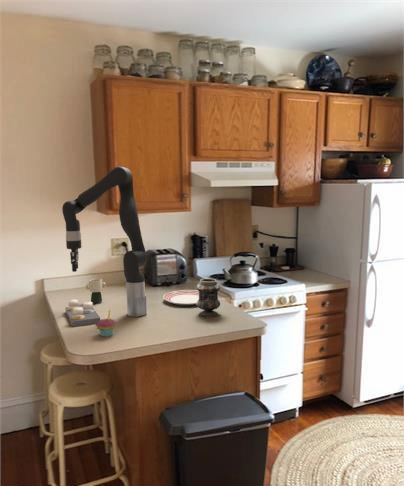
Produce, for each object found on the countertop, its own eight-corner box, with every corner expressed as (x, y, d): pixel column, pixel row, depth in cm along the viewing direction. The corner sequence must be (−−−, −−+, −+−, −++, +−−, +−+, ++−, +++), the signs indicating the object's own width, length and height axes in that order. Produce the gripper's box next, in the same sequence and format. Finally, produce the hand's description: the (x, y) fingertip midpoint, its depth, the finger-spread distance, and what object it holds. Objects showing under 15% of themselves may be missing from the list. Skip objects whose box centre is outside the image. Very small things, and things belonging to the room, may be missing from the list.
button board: (100, 322, 204) (100, 317, 203) (72, 326, 198) (72, 320, 198) (90, 309, 227) (90, 303, 227) (65, 312, 222) (65, 307, 222)
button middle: (93, 308, 212) (93, 303, 212) (83, 309, 210) (83, 304, 210) (91, 306, 217) (91, 301, 216) (82, 307, 215) (81, 302, 214)
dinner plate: (219, 304, 234) (219, 298, 233) (171, 310, 224) (171, 304, 223) (201, 293, 259) (200, 288, 259) (157, 298, 249) (157, 292, 249)
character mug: (105, 299, 246) (104, 277, 244) (107, 302, 239) (106, 280, 237) (86, 301, 242) (84, 279, 240) (87, 305, 235) (86, 282, 233)
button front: (84, 314, 203) (83, 309, 202) (73, 315, 201) (73, 310, 200) (82, 311, 207) (82, 306, 207) (72, 312, 205) (71, 307, 205)
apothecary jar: (222, 311, 219) (222, 277, 217) (217, 318, 208) (216, 283, 206) (200, 310, 223) (199, 276, 220) (193, 317, 211) (193, 281, 209)
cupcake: (117, 331, 192) (116, 305, 190) (114, 337, 183) (113, 311, 182) (98, 331, 191) (97, 305, 190) (94, 338, 183) (93, 311, 181)
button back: (78, 305, 217) (78, 301, 217) (69, 307, 215) (68, 302, 215) (77, 303, 221) (77, 299, 221) (67, 304, 219) (67, 300, 219)
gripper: (79, 240, 214) (81, 272, 216) (82, 237, 228) (83, 267, 230) (64, 241, 213) (66, 273, 215) (67, 238, 226) (69, 268, 228)
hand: (75, 270), depth 222 cm, fingers open, 8 cm apart
